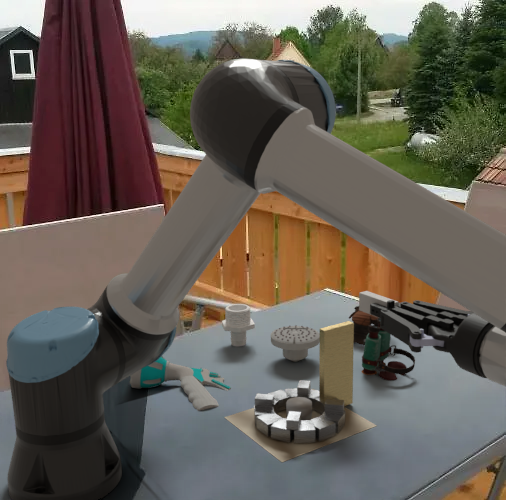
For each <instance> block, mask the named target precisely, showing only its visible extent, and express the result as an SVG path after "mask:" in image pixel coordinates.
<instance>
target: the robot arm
mask: <svg viewBox="0 0 506 500" xmlns="http://www.w3.org/2000/svg"><path fill="white" fill-rule="evenodd" d="M336 110H337V109H336V102H335V97H334V93H333V91H332V88H331V87H330V85H329V84H328V81H327V80H326V79H325V78H324V77H323V75H321V74H320V73H319V71H317V70H316V69H314V68H313V67H311V66H308V65H306V64H304V63H300V62H298V61H295V60H292V59H278V60H265V59H256V58H235V59H231V60H230V59H229V60H227V61H224V62H221V63H219V64H218V65H217V66H215V67H214V68H211V70H209V71H208V72H207V73H206V74H205V75H204V76H203V78H201V80H200V82H199V83H198V84H197V86H196V88H195V90H194V92H193V95H192V99H191V101H190V109H189V115H190V117H189V118H190V125H191V129H192V133H193V136H194V138H195V140H196V142H197V144H198V146H199V147H200V148H201V151H203V152H204V154H205V155H204V157H203V158H202V160H201V161H200V163H199V164H198V166H197V168H196V169H195V170H194V172H193V174H192V175H191V177H190V178H189V179H188V181H187V182H186V185H184V187H183V189H182V191H180V193H179V195H178V196H177V198H176V200H175V201H174V202H173V204H172V205H171V207H170V208H169V210H168V212H167V213H166V214H165V216H164V218H163V220H162V221H161V222H160V223H159V225H158V227H157V229H156V230H155V232H154V233H153V234H152V237H151V238H150V239H149V241H148V242H147V244H146V245H145V247H144V248H143V250H142V251H141V253H140V254H139V256H138V258H137V259H136V261H135V262H134V263H133V265H132V266H131V268H130V270H129V271H128V273H121V274H117V275H116V276H114V277H112V279H111V280H110V281H109V282H108V284H107V286H106V287H105V288H104V290H103V291H102V293H101V294H100V296H99V298H98V299H97V300H96V302H94V304H93V305H92V306H91V307H88V308H84V307H81V306H59V307H53V309H50V310H45V309H44V310H42V311H39V312H36V313H34V314H32V315H28V316H27V317H26V318H23V319H22V320H20V321H19V322H18V323H17V324H16V325H15V326H14V327H13V328H12V329H11V330H10V332H9V334H8V336H7V339H6V353H7V357H6V360H5V361H6V363H5V364H6V370H7V373H8V380H9V384H10V385H9V386H10V393H11V401H12V408H13V417H14V419H13V420H14V426H15V437H16V438H15V442H14V447H13V451H12V454H11V458H10V464H9V467H8V470H7V471H8V472H7V477H6V478H7V487H8V494H9V495H8V496H9V498H10V499H11V500H98V499H100V498H101V499H103V498H105V496H107V495H108V493H109V494H110V493H111V492H112V491H113V490H114V489H115V488H116V487H117V485H118V484H119V482H120V481H121V478H122V474H123V469H122V458H121V453H120V451H119V450H118V447H117V445H116V443H115V440H114V438H113V436H112V433H111V432H110V429H109V427H108V426H107V424H106V418H105V406H104V405H105V404H104V393H105V392H106V391H108V390H110V389H111V388H113V387H114V386H116V385H117V384H119V383H120V382H122V381H124V380H126V379H127V378H129V377H130V375H132V374H134V373H135V372H137V371H139V370H140V369H142V368H143V367H146V366H148V365H150V364H152V363H153V362H155V361H157V360H158V359H159V358H160V357H161V356H162V357H163V355H165V353H166V352H167V351H168V350H169V349H170V347H171V346H172V344H173V342H174V340H175V337H176V334H177V326H178V323H179V320H180V311H179V305H180V304H181V303H182V301H183V300H184V298H185V297H186V296H187V295H188V293H189V292H190V290H191V289H192V288H193V287H194V285H195V284H196V282H197V281H198V280H199V278H200V277H201V276H202V274H203V273H204V271H205V270H206V269H207V267H208V266H209V264H210V263H211V262H212V260H213V259H214V258H215V256H216V255H217V254H218V252H219V251H220V249H221V248H222V246H224V244H225V243H226V242H227V240H228V239H229V237H230V236H231V234H232V233H234V230H235V229H236V228H237V226H239V224H240V222H241V221H242V219H243V218H244V217H245V215H246V214H247V212H249V210H250V209H251V207H252V206H253V204H254V203H255V202H256V200H257V199H258V198H259V196H260V195H261V194H263V195H265V194H270V193H273V192H278V193H279V194H280V195H282V196H284V197H285V198H287V199H289V200H290V201H292V202H293V203H295V204H297V205H298V206H300V207H301V208H303V209H305V210H307V211H308V212H310V213H311V214H312V215H315V216H316V217H317V218H320V219H321V220H323V221H325V222H326V223H327V224H328V225H331V226H332V227H333V228H335V229H337V230H338V231H341V232H342V233H343V234H345V235H347V236H348V237H349V238H351V239H353V240H355V241H356V242H358V243H360V244H361V245H363V246H364V247H366V248H368V249H369V250H371V251H373V252H374V253H376V254H378V255H379V256H380V257H382V258H384V259H386V260H387V261H389V262H390V263H392V264H394V265H396V266H397V267H399V268H400V269H402V270H403V271H405V272H406V273H408V274H410V275H412V276H414V278H416V279H418V280H419V281H421V282H423V283H424V284H426V285H428V286H429V287H431V288H433V289H434V290H436V291H437V292H439V293H440V294H442V295H444V296H445V297H448V298H449V299H451V300H452V301H454V302H456V304H459V305H460V306H462V307H464V308H465V309H466V310H463V309H459V308H455V307H454V308H453V307H449V306H446V305H445V306H444V305H442V304H441V305H440V304H436V303H433V302H432V303H431V302H427V301H422V300H417V299H416V300H415V299H414V300H413V301H412V303H411V302H408V301H402V302H399V301H397V300H394V299H393V298H389V297H386V296H383V295H381V294H377V293H375V292H371V291H369V290H365V291H361V292H358V293H359V294H358V306H359V310H360V311H363V312H365V313H368V314H370V315H373V316H376V317H378V318H380V328H381V329H383V330H385V331H386V332H388V333H389V334H391V335H390V336H392V337H394V338H396V339H397V340H399V341H400V342H402V343H403V344H405V345H407V346H408V347H409V349H410V351H411V352H413V353H421V352H422V349H423V348H424V347H432V348H433V349H434V350H436V351H438V352H442V353H443V352H444V353H449V354H450V355H451V357H452V358H453V360H454V361H455V363H456V365H457V366H458V367H459V369H462V370H464V371H466V372H469V373H471V374H472V375H475V376H477V377H480V378H483V379H488V380H489V381H491V382H493V383H496V384H498V385H501V386H504V387H506V233H504V232H502V231H500V230H498V229H497V228H496V227H494V226H492V225H490V224H488V223H486V222H485V221H483V220H482V219H480V218H478V217H476V216H474V215H473V214H471V213H469V212H468V211H466V210H464V209H462V208H461V207H458V206H457V205H455V204H453V203H452V202H450V201H448V200H447V199H445V198H443V197H442V196H440V195H438V194H436V193H434V192H433V191H431V190H429V189H427V188H425V187H423V186H422V185H421V184H419V183H417V182H415V181H413V180H412V179H410V178H408V177H406V176H405V175H404V174H401V173H399V172H398V171H396V170H394V169H392V168H391V167H389V166H387V165H386V164H384V163H382V162H380V161H379V160H377V159H375V158H373V157H372V156H370V155H368V154H366V153H365V152H363V151H361V150H359V149H357V148H356V147H354V146H352V145H351V144H349V143H347V142H345V141H344V140H342V139H340V138H339V137H337V136H335V135H333V134H332V131H333V130H334V126H335V122H336V117H337V116H336V113H337V111H336ZM101 499H100V500H101Z"/></svg>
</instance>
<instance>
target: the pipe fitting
mask: <svg viewBox="0 0 506 500" xmlns="http://www.w3.org/2000/svg"><path fill="white" fill-rule="evenodd" d="M224 311H225V319H223V320H221V325H222V328H223V330H224V331H225V332H229V333H230V343H231V345H232V347H239V348H240V347H244V346H245V345H247V332H248V331H250V330H254V329H255V322H254V320H253V319H252V317H251V307H250V306H249V305H247V304H245V303H235V304H234V303H233V304H230V305H227V306H226V307H225V309H224Z"/></svg>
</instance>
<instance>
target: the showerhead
mask: <svg viewBox="0 0 506 500" xmlns="http://www.w3.org/2000/svg"><path fill="white" fill-rule="evenodd" d="M270 342H271V344H272V345H273V346H274V347H276V348H279V349H281V350H282V357H283V358H285V359H287V360H290V361H291V362H300V361H301V360H305V359H306V358H307V357H308V356H309V349H313V348H315V347H316V346H318V345H320V331H319V330H316V329H313V328H311V327H308V326H303V325H296V324H295V325H288V326H283V327H279V328H276V329H274V330H273V331H272V332H271V333H270Z"/></svg>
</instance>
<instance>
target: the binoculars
mask: <svg viewBox="0 0 506 500" xmlns="http://www.w3.org/2000/svg"><path fill="white" fill-rule="evenodd" d="M377 323H378V327H377V326H373V325H374V324H371V325H369V329H368V330H369V333H368V335H367V337H366V339H364V342H363V343H364V345H363V346H364V349H363V354H362V356H361V366H362V368H363V369H362V370H361V374H363V375H367V376H368V375H369V376H373V375H374V376H375V375H377V374H378V377H379V378H380V379H383V380H386V381H396V380H398V377H397V375H400V376H403V377H404V376H405V375H406V374H409V373H410V372H412V371H413V370H414V368H415V364H416V357H415V356H414V355H413V354H412V353H411V352H410V351H407V350H405V349H402V348H397V345H394V344H392V345H391V336H392V335H391V334H389V333H388V332H386V331H385V330H383V329H381V328H380V318H377ZM392 347H393V349H392ZM392 350H393V351H392ZM389 355H391V356H393V357H394V356H396V355H402V356H405V357H406V358H408V359H409V360H411V361H412V363H413V364H412V365H411V366H409V367H407V365H406V364H405V363H403V362H401V361H399V360H398V361H396V360H392V361H388V362H387V364H386V362H384V360H386V359H387V358H388V357H389ZM378 371H379V373H378Z"/></svg>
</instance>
